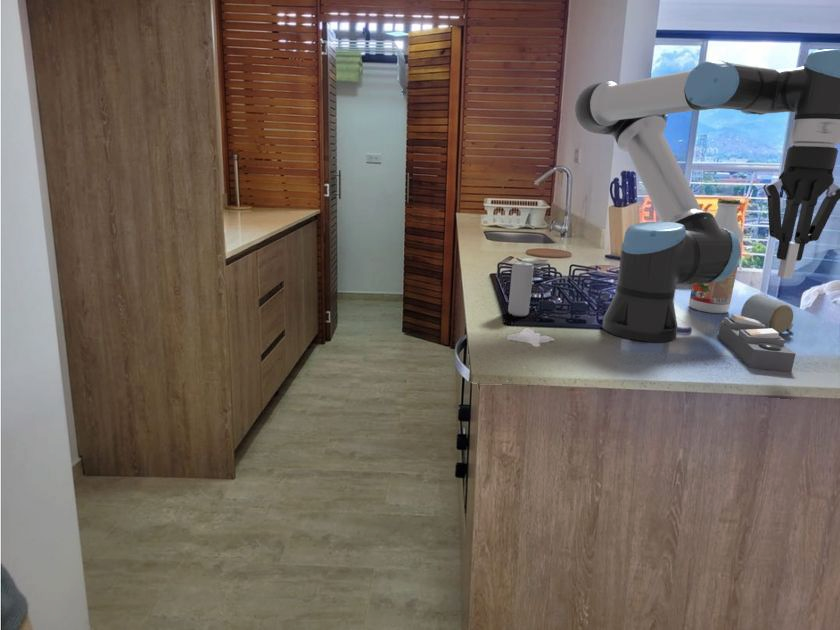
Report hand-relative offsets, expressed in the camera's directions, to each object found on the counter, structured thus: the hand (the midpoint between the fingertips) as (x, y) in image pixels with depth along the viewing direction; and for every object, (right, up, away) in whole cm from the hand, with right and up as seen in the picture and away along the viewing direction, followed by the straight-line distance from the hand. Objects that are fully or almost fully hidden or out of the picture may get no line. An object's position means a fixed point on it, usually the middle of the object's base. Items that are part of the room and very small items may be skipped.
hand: (784, 277), depth 108 cm
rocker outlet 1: (0, -9, +13) cm, 15 cm away
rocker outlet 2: (-2, -11, +4) cm, 12 cm away
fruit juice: (+6, -6, +42) cm, 42 cm away
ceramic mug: (+12, -11, +25) cm, 30 cm away
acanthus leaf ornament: (-46, -13, +8) cm, 48 cm away
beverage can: (-45, -7, +27) cm, 53 cm away
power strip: (-2, -15, +8) cm, 17 cm away
